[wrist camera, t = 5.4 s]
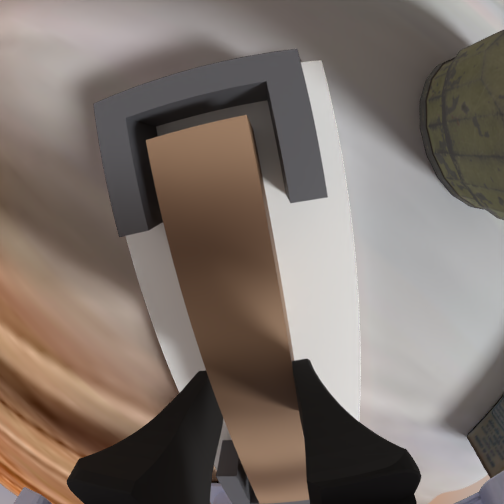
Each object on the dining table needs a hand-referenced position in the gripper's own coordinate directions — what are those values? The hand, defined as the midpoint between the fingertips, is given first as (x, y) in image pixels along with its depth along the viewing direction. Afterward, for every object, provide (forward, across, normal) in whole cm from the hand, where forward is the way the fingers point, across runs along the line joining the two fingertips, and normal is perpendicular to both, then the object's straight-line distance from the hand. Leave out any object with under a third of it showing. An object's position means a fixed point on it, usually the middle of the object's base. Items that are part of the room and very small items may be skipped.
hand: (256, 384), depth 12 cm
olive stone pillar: (+4, -14, -9) cm, 17 cm away
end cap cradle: (+4, 0, 0) cm, 4 cm away
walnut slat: (+3, 0, 0) cm, 3 cm away
